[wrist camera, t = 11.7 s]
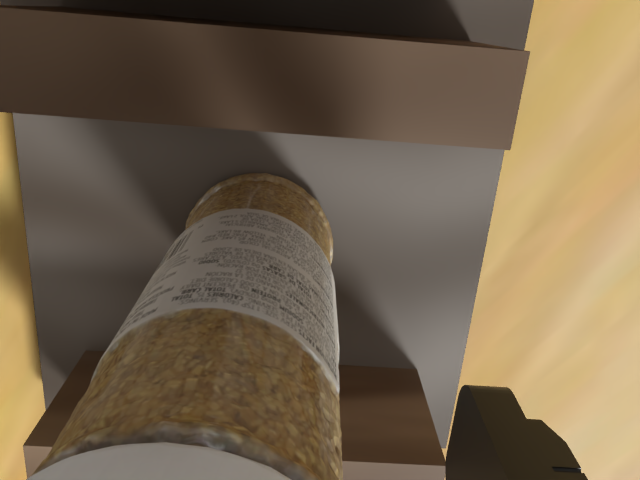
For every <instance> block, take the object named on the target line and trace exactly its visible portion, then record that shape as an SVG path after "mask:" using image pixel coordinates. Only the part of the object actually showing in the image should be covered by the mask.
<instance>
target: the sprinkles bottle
mask: <svg viewBox="0 0 640 480" xmlns="http://www.w3.org/2000/svg"><path fill="white" fill-rule="evenodd" d="M332 259H333V237H332V232H331V228H330V225H329V222H328V220H327V218H326V215H325V213H324V212H323V210H322V208H321V206H320V204H319V203H318V201H317V200H316V199H315V198H313V197H312V196H311V195H310V194H308V193H307V192H306V191H305V190H304V189H303V188H302V187H300V186H298V185H296V184H295V183H293V182H291V181H290V180H288V179H285V178H282V177H279V176H274V175H271V174H268V173H260V174H259V173H249V174H243V175H239V176H234V177H231V178H229V179H227V180H225V181H222V182H220V183H218V184H216V185H215V186H213V187H212V188H210V189H209V190H208V191H207V192H206V193H205V194H204V196H203V197H202V198H200V199H199V200H198V202H197V203H196V205H195V207H194V208H193V209H192V211H191V212H190V214H189V217H188V219H187V221H186V228H185V231H184V232H183V233H182V234H181V235H180V236H179V237H178V238H177V239H176V240H175V242H174V243H173V244H172V246H171V247H170V249H169V250H168V252H167V253H166V255H165V257H164V258H163V260H162V261H161V263H160V265H159V266H158V268H157V269H156V271H155V273H154V274H153V276H152V277H151V279H150V281H149V282H148V284H147V286H146V287H145V289H144V291H143V292H142V294H141V296H140V297H139V299H138V300H137V302H136V304H135V305H134V307H133V309H132V310H131V312H130V313H129V315H128V317H127V318H126V320H125V321H124V323H123V325H122V326H121V328H120V329H119V331H118V333H117V334H116V336H115V337H114V339H113V340H112V342H111V343H110V345H109V347H108V348H107V350H106V351H105V353H104V354H103V356H102V357H101V359H100V361H99V363H98V365H97V367H96V369H95V372H94V374H93V377H92V379H91V383H90V385H89V387H88V389H87V391H86V393H85V394H84V396H83V397H82V398H81V400H80V401H79V402H78V404H77V406H76V407H75V409H74V411H73V413H72V414H71V417H70V419H69V421H68V422H67V424H66V425H65V427H64V428H63V430H62V431H61V433H60V435H59V437H58V439H57V441H56V442H55V444H54V446H53V447H52V449H51V451H50V452H49V454H48V456H47V457H46V459H44V460H43V461H42V462H41V464H40V465H39V466H38V467H37V469H36V470H35V471H34V473H33V474H32V476H30V477H29V478H28V479H26V480H343V469H342V464H343V463H342V448H341V445H342V441H341V434H342V432H341V428H340V405H339V390H340V388H339V369H338V363H339V334H338V320H337V308H336V294H335V282H334V277H333V273H332V270H331V263H332Z"/></svg>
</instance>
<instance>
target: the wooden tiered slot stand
mask: <svg viewBox="0 0 640 480" xmlns="http://www.w3.org/2000/svg"><path fill="white" fill-rule="evenodd" d="M533 3H534V0H0V4H1V5H0V112H7V113H13V121H14V129H15V138H16V147H17V156H18V165H19V174H20V183H21V192H22V201H23V210H24V219H25V228H26V237H27V246H28V255H29V264H30V273H31V282H32V291H33V300H34V309H35V318H36V327H37V336H38V345H39V354H40V363H41V372H42V381H43V390H44V399H45V408H46V411H45V413H44V414H43V416H42V417H41V419H40V420H39V422H38V424H37V425H36V427H35V428H34V430H33V431H32V433H31V434H30V436H29V437H28V439H27V440H26V442H25V443H24V445H23V450H24V457H25V465H26V472H27V479H28V478H29V477H30V476H32V474H33V473H34V471H35V470H36V469H37V467H38V466H39V465H40V464H41V462H42V461H43V460H44V459H46V457H47V456H48V454H49V452H50V451H51V449H52V447H53V446H54V444H55V442H56V441H57V439H58V437H59V435H60V433H61V431H62V430H63V428H64V427H65V425H66V424H67V422H68V421H69V419H70V417H71V414H72V413H73V411H74V409H75V407H76V406H77V404H78V402H79V401H80V400H81V398H82V397H83V396H84V394H85V393H86V391H87V389H88V387H89V385H90V383H91V379H92V377H93V374H94V372H95V369H96V367H97V365H98V363H99V361H100V359H101V357H102V356H103V354H104V353H105V351H106V350H107V348H108V347H109V345H110V343H111V342H112V340H113V339H114V337H115V336H116V334H117V333H118V331H119V329H120V328H121V326H122V325H123V323H124V321H125V320H126V318H127V317H128V315H129V313H130V312H131V310H132V309H133V307H134V305H135V304H136V302H137V300H138V299H139V297H140V296H141V294H142V292H143V291H144V289H145V287H146V286H147V284H148V282H149V281H150V279H151V277H152V276H153V274H154V273H155V271H156V269H157V268H158V266H159V265H160V263H161V261H162V260H163V258H164V257H165V255H166V253H167V252H168V250H169V249H170V247H171V246H172V244H173V243H174V242H175V240H176V239H177V238H178V237H179V236H180V235H181V234H182V233H183V232H184V231H185V228H186V221H187V219H188V217H189V214H190V212H191V211H192V209H193V208H194V207H195V205H196V203H197V202H198V200H199V199H200V198H202V197H203V196H204V194H205V193H206V192H207V191H208V190H209V189H210V188H212V187H213V186H215V185H216V184H218V183H220V182H222V181H225V180H227V179H229V178H231V177H234V176H239V175H243V174H249V173H259V174H260V173H268V174H271V175H274V176H279V177H282V178H285V179H288V180H290V181H291V182H293V183H295V184H296V185H298V186H300V187H302V188H303V189H304V190H305V191H306V192H307V193H308V194H310V195H311V196H312V197H313V198H315V199H316V200H317V201H318V203H319V204H320V206H321V208H322V210H323V212H324V213H325V215H326V218H327V220H328V222H329V225H330V228H331V232H332V237H333V259H332V263H331V270H332V273H333V277H334V282H335V294H336V308H337V320H338V334H339V363H338V369H339V388H340V390H339V405H340V428H341V432H342V434H341V441H342V445H341V448H342V463H343V464H342V469H343V480H444V478H445V466H446V462H445V458H444V455H443V452H442V449H441V448H446V444H447V439H448V434H449V429H450V424H451V419H452V414H453V409H454V404H455V399H456V394H457V389H458V384H459V378H460V373H461V368H462V363H463V358H464V353H465V348H466V343H467V338H468V333H469V328H470V323H471V318H472V312H473V307H474V302H475V297H476V292H477V287H478V282H479V277H480V272H481V267H482V262H483V257H484V251H485V246H486V241H487V236H488V231H489V226H490V221H491V216H492V211H493V206H494V201H495V196H496V191H497V185H498V180H499V175H500V170H501V165H502V160H503V155H504V150H510V149H511V144H512V139H513V134H514V129H515V124H516V119H517V114H518V109H519V104H520V99H521V94H522V89H523V84H524V79H525V74H526V69H527V64H528V59H529V54H530V51H524V48H525V43H526V38H527V33H528V28H529V23H530V18H531V13H532V8H533Z"/></svg>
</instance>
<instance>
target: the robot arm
mask: <svg viewBox="0 0 640 480" xmlns="http://www.w3.org/2000/svg"><path fill="white" fill-rule="evenodd" d="M445 474H446V480H588V479H587V477H586V476H585V474H584V473H581V467H580V465H579V464H578V462H577V460H576V459H575V457H574V455H573V454H572V452H571V450H570V448H569V447H568V445H567V443H566V442H565V441H564V440H563V439H562V438H561V437H559V436H558V435H557V434H556V433H555V432H554V431H553V430H552V429H551V428H549V427H548V426H547V425H546V424H545V423H544V422H543V421H542V420H535V419H526V417H525V415H524V413H523V411H522V409H521V407H520V406H519V404H518V402H517V400H516V398H515V396H514V394H513V392H512V391H511V390H510V389H509V388H507V387H490V386H472V385H464V386H463V387H462V388H461V390H460V393H459V396H458V401H457V406H456V411H455V416H454V421H453V426H452V431H451V436H450V440H449V445H448V450H447V456H446V466H445Z"/></svg>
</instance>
